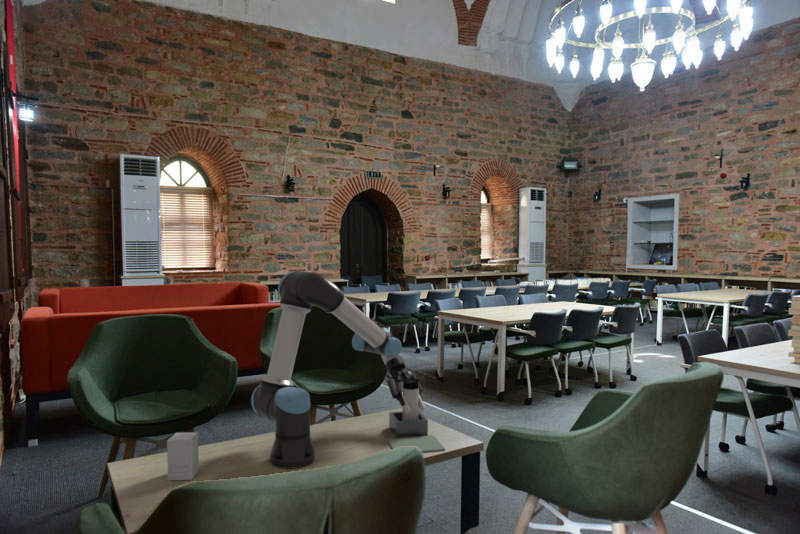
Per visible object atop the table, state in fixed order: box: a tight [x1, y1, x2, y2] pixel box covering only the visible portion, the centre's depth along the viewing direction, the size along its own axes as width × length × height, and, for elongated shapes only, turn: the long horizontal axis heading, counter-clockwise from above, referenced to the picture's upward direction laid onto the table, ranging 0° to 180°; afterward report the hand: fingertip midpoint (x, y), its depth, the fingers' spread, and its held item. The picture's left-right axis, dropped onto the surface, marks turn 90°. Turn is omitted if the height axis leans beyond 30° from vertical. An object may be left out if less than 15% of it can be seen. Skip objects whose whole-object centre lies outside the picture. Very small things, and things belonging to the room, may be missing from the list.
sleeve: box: [388, 410, 429, 438], centre depth 206 cm, size 12×12×6 cm
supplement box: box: [166, 431, 200, 481], centre depth 165 cm, size 7×7×13 cm
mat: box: [387, 434, 446, 453], centre depth 191 cm, size 18×14×1 cm
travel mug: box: [402, 378, 421, 421], centre depth 206 cm, size 6×7×20 cm
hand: (416, 410), depth 203 cm, fingers closed on travel mug, 6 cm apart
